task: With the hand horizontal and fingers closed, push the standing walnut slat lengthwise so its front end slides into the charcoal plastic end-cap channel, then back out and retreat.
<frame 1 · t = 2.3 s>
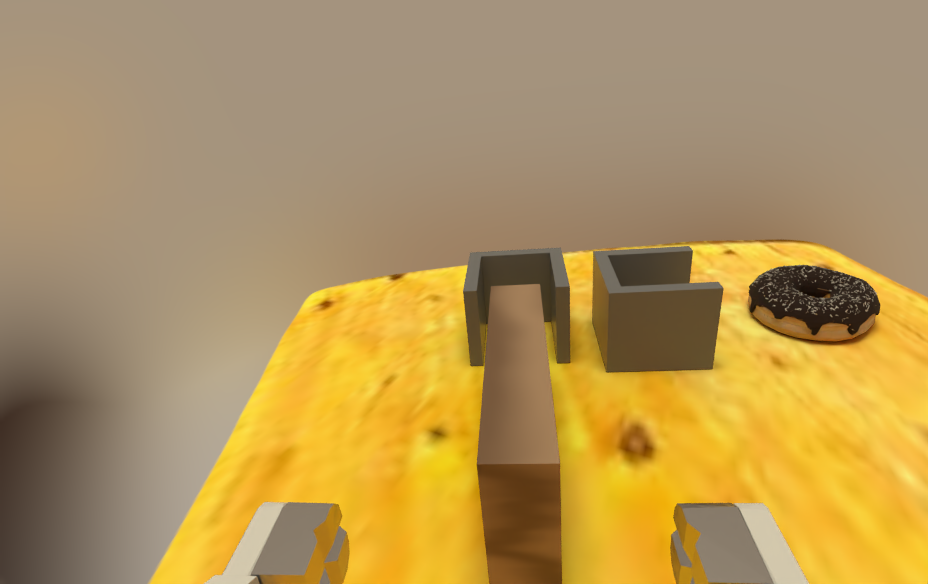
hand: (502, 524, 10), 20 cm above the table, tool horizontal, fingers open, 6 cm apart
donut: (806, 319, 54), on the table
slat: (522, 466, 39), on the table
end cap: (519, 342, 54), on the table
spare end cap: (653, 342, 52), on the table
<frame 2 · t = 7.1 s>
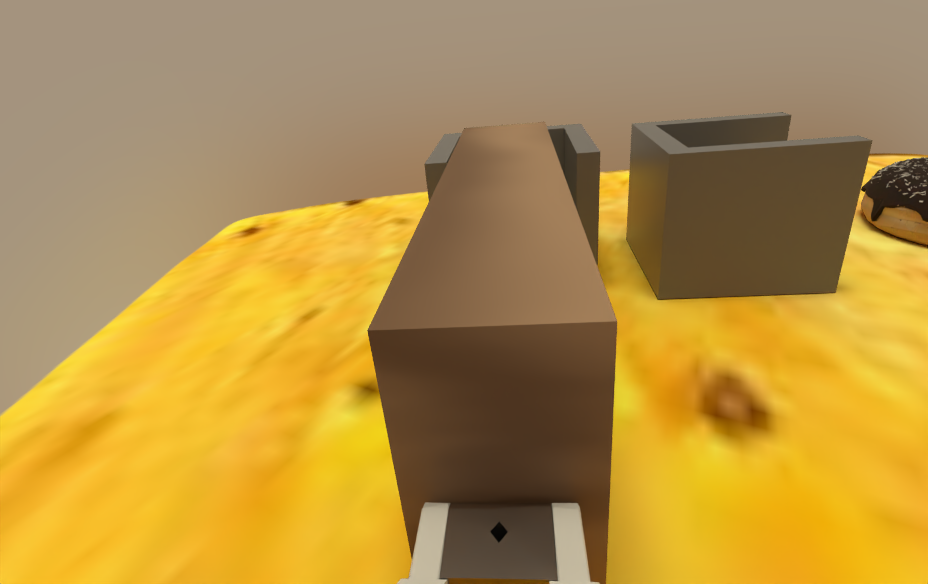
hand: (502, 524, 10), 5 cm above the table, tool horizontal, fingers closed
slat: (514, 415, 22), on the table
end cap: (517, 265, 35), on the table
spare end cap: (726, 261, 33), on the table
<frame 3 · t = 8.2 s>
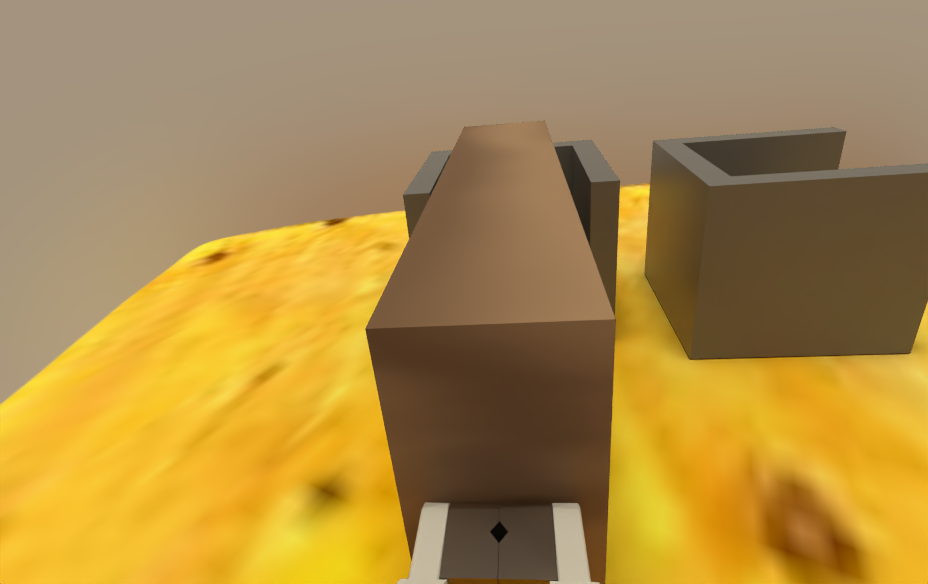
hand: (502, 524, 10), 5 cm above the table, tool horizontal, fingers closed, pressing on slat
slat: (514, 414, 22), on the table, touching gripper
end cap: (517, 307, 30), on the table
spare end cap: (766, 306, 28), on the table
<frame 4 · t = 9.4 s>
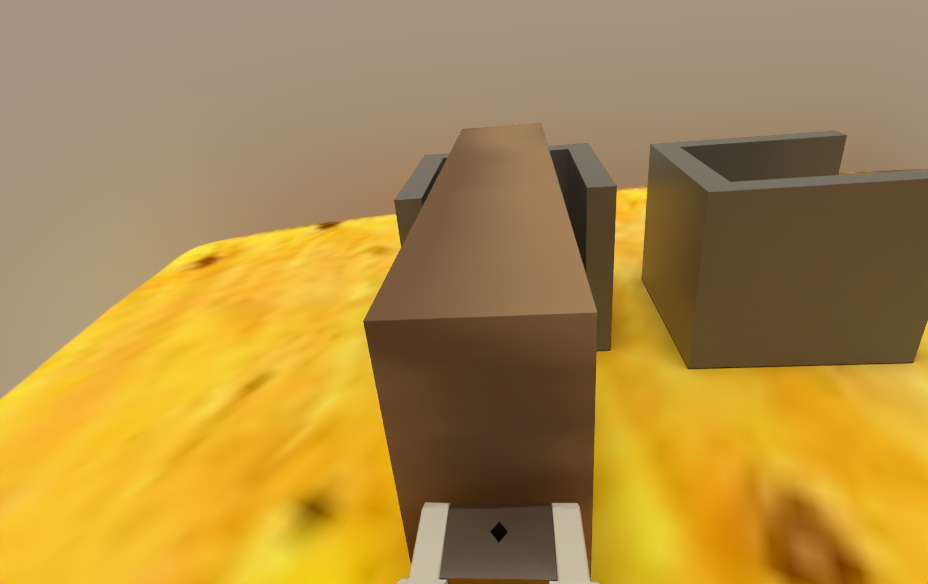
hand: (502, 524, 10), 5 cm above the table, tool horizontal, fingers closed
slat: (510, 409, 22), on the table
end cap: (511, 313, 29), on the table
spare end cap: (766, 313, 27), on the table
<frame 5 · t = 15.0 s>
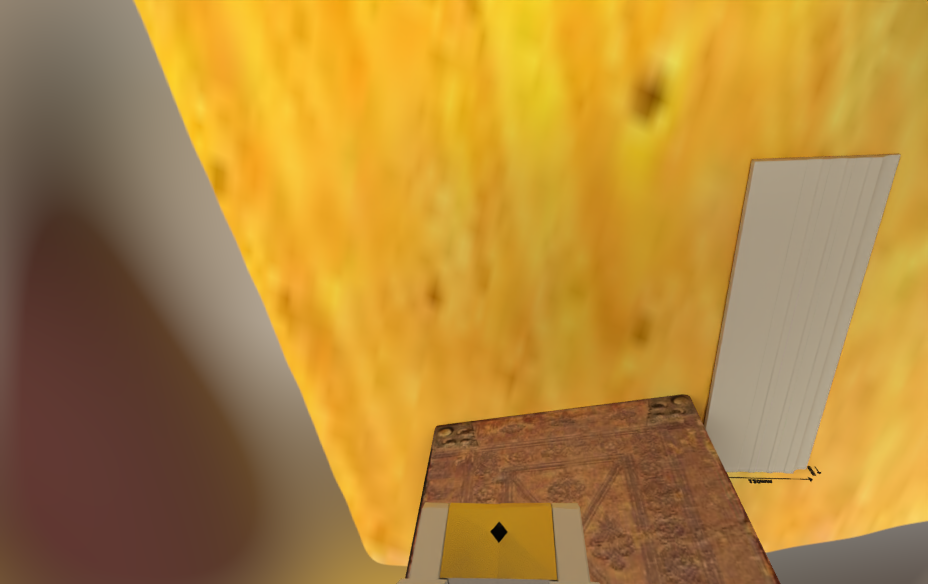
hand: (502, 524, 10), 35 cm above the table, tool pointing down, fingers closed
book: (563, 444, 55), on the table
baseboard molding: (785, 329, 47), on the table
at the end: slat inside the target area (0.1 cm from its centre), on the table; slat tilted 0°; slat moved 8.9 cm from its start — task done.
